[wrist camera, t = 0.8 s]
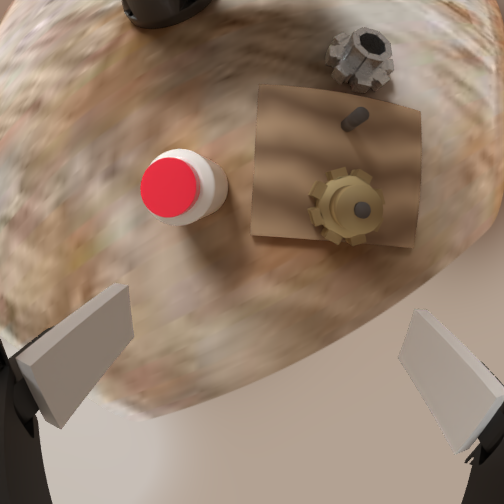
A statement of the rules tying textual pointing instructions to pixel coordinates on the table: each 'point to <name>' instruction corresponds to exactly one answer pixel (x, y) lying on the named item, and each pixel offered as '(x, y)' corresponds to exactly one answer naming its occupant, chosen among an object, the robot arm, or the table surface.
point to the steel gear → (361, 59)
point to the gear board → (335, 167)
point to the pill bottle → (183, 187)
